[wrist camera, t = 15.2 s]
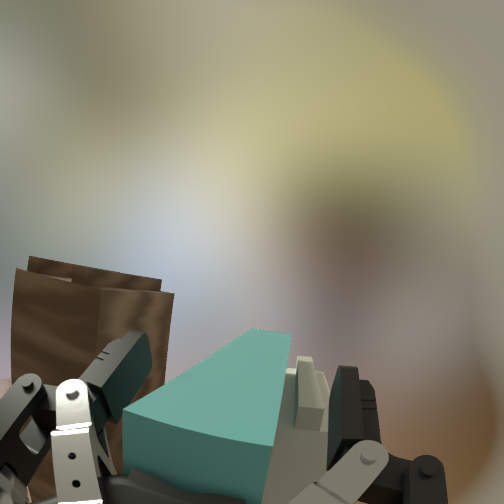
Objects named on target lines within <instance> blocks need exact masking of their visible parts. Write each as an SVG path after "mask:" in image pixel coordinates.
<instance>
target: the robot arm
mask: <svg viewBox="0 0 504 504" xmlns="http://www.w3.org/2000/svg"><path fill="white" fill-rule="evenodd" d="M151 368H152V356H151V350H150V345H149V339H148V335H147V334H146V333H142V332H138V331H134V330H129V331H128V332H127V333H126V334H125V335H124V336H123V338H122V339H120V338H117V339H116V340H114V341H112V342H110V343H109V344H108V345H107V346H106V347H105V348H104V349H103V351H102V353H100V354H99V355H98V356H97V359H95V360H94V361H93V362H92V363H91V365H90V366H89V367H88V368H87V369H86V370H85V372H84V373H83V374H82V375H81V376H80V378H79V379H78V380H76V379H71V380H67V381H64V382H63V383H61V384H60V385H59V386H52V385H45V384H43V383H42V381H41V378H40V377H39V376H38V375H36V374H25V375H23V376H21V377H19V378H18V379H17V380H16V382H15V383H14V384H13V385H12V386H11V387H10V388H9V390H8V391H7V392H6V393H5V394H4V396H3V397H2V398H1V399H0V504H28V503H29V499H28V497H27V495H28V492H27V488H26V487H27V485H28V484H29V482H30V480H31V479H32V477H33V475H34V474H35V472H36V470H37V469H38V467H39V465H40V464H41V462H42V460H43V459H44V457H45V456H46V454H47V452H48V451H49V449H50V448H51V446H52V456H53V467H54V476H55V485H56V492H57V495H54V496H51V497H48V498H45V499H42V500H39V501H35V502H32V503H29V504H245V501H246V500H243V499H238V498H232V497H228V496H223V495H218V494H199V493H185V492H182V491H180V490H178V489H176V488H174V487H173V486H171V485H169V484H167V483H166V482H164V481H162V480H161V479H159V478H157V477H154V476H151V475H148V474H145V473H143V472H140V471H137V470H135V469H132V470H131V472H130V474H129V475H128V474H117V472H116V470H115V467H114V465H113V462H112V458H111V453H110V449H109V444H108V439H107V434H106V429H105V427H104V425H105V424H106V422H107V421H109V422H111V423H114V424H116V425H117V423H118V421H119V420H120V418H121V417H122V415H123V409H124V408H126V407H127V406H129V404H130V402H131V401H132V399H133V398H134V396H135V395H136V393H137V392H138V390H139V388H140V387H141V385H142V384H143V382H144V381H145V379H146V377H147V376H148V374H149V373H150V371H151ZM30 416H31V417H32V420H31V421H30V423H29V424H28V425H27V427H26V428H25V429H24V431H23V432H22V434H21V435H19V433H20V429H21V428H22V426H23V425H24V424H25V422H26V421H27V419H28V418H29V417H30ZM326 471H328V472H327V473H326V474H325V475H324V476H323V477H322V478H321V479H319V480H318V481H317V482H313V483H311V484H310V485H309V486H307V487H306V488H305V489H304V490H303V491H302V492H300V493H299V494H298V495H297V496H296V497H295V498H293V499H292V500H291V501H290V502H288V503H287V504H354V503H355V502H356V501H360V502H364V503H367V504H448V499H447V489H446V480H445V472H444V467H443V464H442V463H441V462H440V461H439V460H438V459H437V458H436V457H434V456H430V455H422V456H419V457H417V458H415V459H414V460H413V461H410V460H406V459H402V458H398V457H395V456H393V455H391V454H389V453H388V452H387V450H386V448H385V447H384V446H383V445H382V443H381V439H380V429H379V421H378V413H377V405H376V398H375V390H374V388H373V387H372V385H371V384H370V382H369V381H368V380H359V374H358V368H357V367H352V366H339V367H338V369H337V372H336V376H335V379H334V383H333V385H332V389H331V392H330V397H329V409H328V444H327V465H326Z"/></svg>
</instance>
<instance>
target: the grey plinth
mask: <svg viewBox="0 0 504 504" xmlns="http://www.w3.org/2000/svg"><path fill="white" fill-rule="evenodd" d="M329 397H330V389H329V387H328V384H327V381H326V378H325V375H324V373H323V372H317V371H315V368H314V364H313V361H312V358H311V357H303V356H298V358H297V364H296V369H291V368H286V375H285V381H284V387H283V393H282V399H281V405H280V411H279V417H278V422H277V428H276V433H275V439H274V444H273V449H272V454H271V459H270V464H269V469H268V474H267V479H266V483H265V488H264V492H263V497H262V501H261V504H287V503H288V502H290V501H291V500H292V499H293V498H295V497H296V496H297V495H298V494H299V493H300V492H302V491H303V490H304V489H305V488H306V487H307V486H309V485H310V484H311V483H313V482H317V481H318V480H319V479H321V478H322V477H323V476H324V475H325V474H326V473H327V472H328V471H326V465H327V444H328V409H329Z"/></svg>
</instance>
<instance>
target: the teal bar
mask: <svg viewBox="0 0 504 504" xmlns="http://www.w3.org/2000/svg"><path fill="white" fill-rule="evenodd" d="M290 342H291V334H286V333H279V332H271V331H264V330H257V329H250V330H249V331H247V332H246V333H244V334H243V335H241V336H240V337H238V338H237V339H235V340H234V341H232V342H231V343H229V344H228V345H226V346H225V347H223V348H222V349H220V350H219V351H217V352H216V353H214V354H213V355H211V356H210V357H208V358H206V359H205V360H203V361H202V362H200V363H198V364H197V365H195V366H194V367H192V368H190V369H189V370H187V371H186V372H184V373H183V374H181V375H179V376H178V377H176V378H174V379H173V380H171V381H169V382H168V383H166V384H165V385H163V386H161V387H160V388H158V389H156V390H155V391H153V392H151V393H150V394H148V395H146V396H144V397H143V398H141V399H139V400H138V401H136V402H134V403H133V404H131V405H129V406H127V407H126V408H124V409H123V416H122V450H123V474H128V475H129V474H130V472H131V470H132V469H135V470H137V471H140V472H143V473H145V474H148V475H151V476H154V477H157V478H159V479H161V480H162V481H164V482H166V483H167V484H169V485H171V486H173V487H174V488H176V489H178V490H180V491H182V492H185V493H199V494H218V495H223V496H228V497H232V498H238V499H243V500H246V501H245V504H261V501H262V497H263V492H264V488H265V483H266V479H267V474H268V469H269V464H270V459H271V454H272V449H273V444H274V439H275V433H276V428H277V422H278V417H279V411H280V405H281V399H282V393H283V387H284V381H285V375H286V368H287V362H288V355H289V349H290Z"/></svg>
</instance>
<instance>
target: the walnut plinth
mask: <svg viewBox="0 0 504 504" xmlns="http://www.w3.org/2000/svg"><path fill="white" fill-rule="evenodd" d="M161 282H162V280H161V279H155V278H149V277H143V276H136V275H130V274H124V273H120V272H114V271H109V270H103V269H97V268H91V267H86V266H80V265H74V264H69V263H64V262H59V261H54V260H48V259H43V258H38V257H33V256H29V261H28V268H27V270H26V269H20V268H16V274H15V282H14V293H13V304H12V320H11V377H12V385H13V384H14V383H15V382H16V380H17V379H18V378H19V377H21V376H23V375H25V374H36V375H38V376H39V377H40V378H41V381H42V383H43V384H45V385H52V386H59V385H60V384H61V383H63V382H64V381H67V380H71V379H76V380H78V379H79V378H80V376H81V375H82V374H83V373H84V372H85V370H86V369H87V368H88V367H89V366H90V365H91V363H92V362H93V361H94V360H95V359H97V356H98V355H99V354H100V353H102V351H103V349H104V348H105V347H106V346H107V345H108V344H109V343H110V342H112V341H114V340H116V339H117V338H120V339H122V338H123V336H124V335H125V334H126V333H127V332H128V331H129V330H134V331H138V332H142V333H146V334H147V335H148V339H149V345H150V350H151V356H152V368H151V371H150V373H149V374H148V376H147V377H146V379H145V381H144V382H143V384H142V385H141V387H140V388H139V390H138V392H137V393H136V395H135V396H134V398H133V399H132V401H131V402H130V404H129V405H131V404H133V403H134V402H136V401H138V400H139V399H141V398H143V397H144V396H146V395H148V394H150V393H151V392H153V391H155V390H156V389H158V388H160V387H161V386H163V385H164V382H165V371H166V361H167V350H168V340H169V332H170V323H171V315H172V307H173V299H174V293H168V292H162V291H160V289H161ZM122 416H123V415H122ZM31 420H32V417H31V416H30V417H29V418H28V419H27V421H26V422H25V424H24V425H23V426H22V428H21V429H20V433H19V435H21V434H22V432H23V431H24V429H25V428H26V427H27V425H28V424H29V423H30V421H31ZM104 427H105V429H106V434H107V439H108V444H109V449H110V453H111V458H112V462H113V465H114V467H115V470H116V472H117V474H123V450H122V417H121V418H120V420H119V421H118V423H117V425H116V424H114V423H111V422H109V421H107V422H106V424H105V425H104ZM28 489H29V492H30V496H31V499H32V502H35V501H39V500H42V499H45V498H48V497H51V496H54V495H57V492H56V485H55V476H54V467H53V456H52V446H51V448H50V449H49V451H48V452H47V454H46V456H45V457H44V459H43V460H42V462H41V464H40V465H39V467H38V469H37V470H36V472H35V474H34V475H33V477H32V479H31V480H30V482H29V484H28Z"/></svg>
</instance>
